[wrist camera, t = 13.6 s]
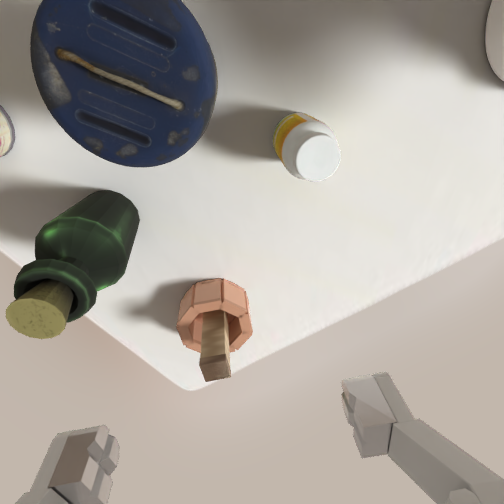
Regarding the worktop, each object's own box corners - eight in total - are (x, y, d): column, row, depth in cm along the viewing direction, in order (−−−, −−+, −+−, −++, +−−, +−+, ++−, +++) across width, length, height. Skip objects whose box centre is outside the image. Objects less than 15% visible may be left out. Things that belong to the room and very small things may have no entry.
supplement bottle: (321, 112, 33) (355, 126, 25) (315, 161, 36) (344, 189, 28) (272, 111, 33) (291, 126, 24) (270, 162, 35) (286, 189, 27)
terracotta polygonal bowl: (242, 273, 43) (245, 295, 39) (253, 323, 48) (256, 347, 44) (173, 286, 43) (168, 309, 39) (191, 335, 48) (189, 360, 44)
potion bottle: (71, 177, 34) (-49, 266, 19) (147, 187, 35) (92, 277, 20) (79, 240, 38) (-15, 356, 23) (146, 247, 39) (101, 360, 24)
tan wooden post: (224, 298, 44) (225, 360, 35) (228, 314, 46) (230, 377, 37) (203, 302, 44) (199, 365, 35) (208, 318, 46) (205, 381, 37)
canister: (185, 146, 34) (158, 211, 18) (101, 87, 30) (-21, 106, 15) (236, 65, 30) (255, 61, 15) (148, -12, 26) (52, -125, 11)
